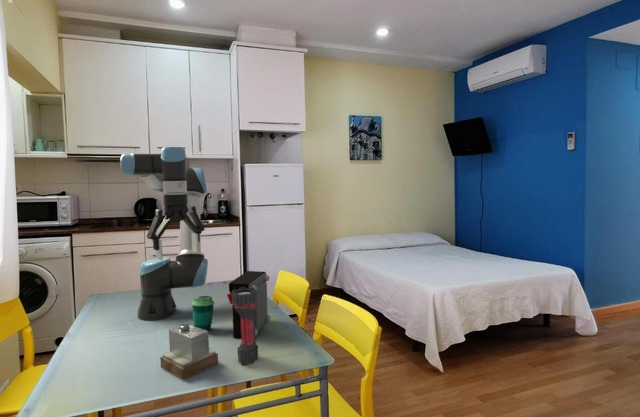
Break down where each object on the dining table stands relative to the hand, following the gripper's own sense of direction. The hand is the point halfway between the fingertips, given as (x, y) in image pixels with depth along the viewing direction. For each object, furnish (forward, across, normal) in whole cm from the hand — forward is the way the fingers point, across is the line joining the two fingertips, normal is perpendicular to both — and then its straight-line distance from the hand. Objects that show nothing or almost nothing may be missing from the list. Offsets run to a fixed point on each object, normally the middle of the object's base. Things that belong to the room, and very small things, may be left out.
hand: (178, 255), depth 130 cm
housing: (+26, -8, -17) cm, 32 cm away
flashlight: (+30, +3, -30) cm, 43 cm away
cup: (+31, +11, +2) cm, 33 cm away
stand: (+30, -9, -18) cm, 36 cm away
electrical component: (+31, +21, -12) cm, 40 cm away
